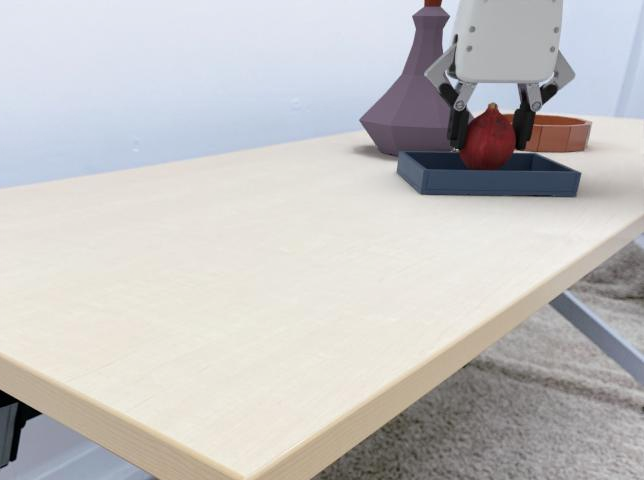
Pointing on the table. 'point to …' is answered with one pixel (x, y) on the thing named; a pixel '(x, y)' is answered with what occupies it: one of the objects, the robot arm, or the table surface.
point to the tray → (486, 175)
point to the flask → (414, 95)
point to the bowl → (557, 133)
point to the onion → (488, 141)
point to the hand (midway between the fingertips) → (486, 146)
